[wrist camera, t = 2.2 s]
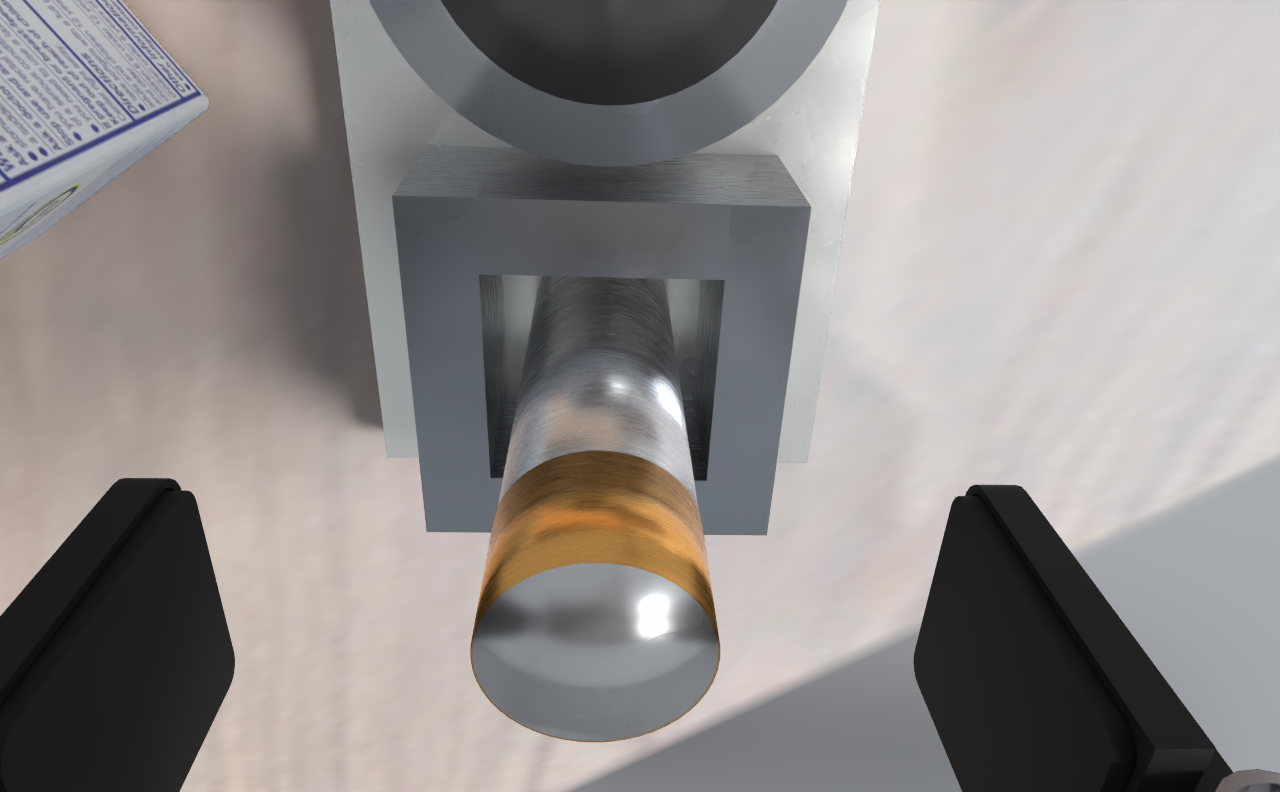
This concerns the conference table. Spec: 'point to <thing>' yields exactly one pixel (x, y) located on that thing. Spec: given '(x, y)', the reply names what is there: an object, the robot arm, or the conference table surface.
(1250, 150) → the conference table surface
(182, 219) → the conference table surface
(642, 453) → the pin
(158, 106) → the medicine box
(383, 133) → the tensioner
